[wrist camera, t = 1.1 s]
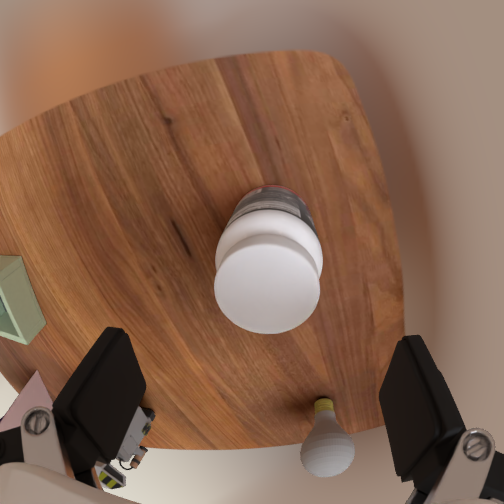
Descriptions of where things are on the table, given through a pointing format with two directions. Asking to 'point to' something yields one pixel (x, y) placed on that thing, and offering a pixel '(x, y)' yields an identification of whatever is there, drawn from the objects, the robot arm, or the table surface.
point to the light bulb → (326, 444)
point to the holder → (18, 302)
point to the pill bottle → (269, 262)
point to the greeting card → (26, 402)
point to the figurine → (127, 450)
